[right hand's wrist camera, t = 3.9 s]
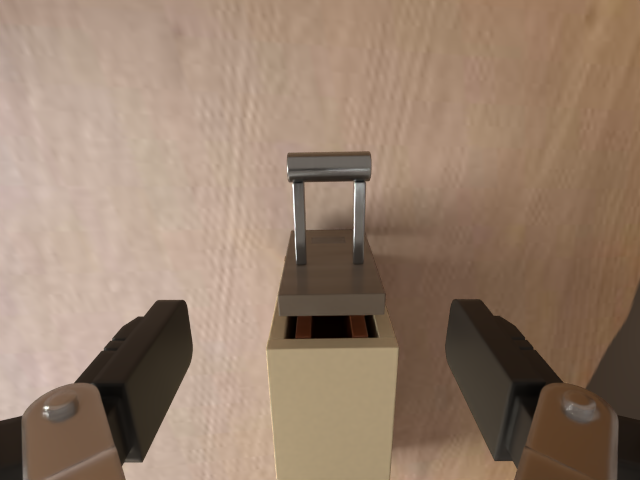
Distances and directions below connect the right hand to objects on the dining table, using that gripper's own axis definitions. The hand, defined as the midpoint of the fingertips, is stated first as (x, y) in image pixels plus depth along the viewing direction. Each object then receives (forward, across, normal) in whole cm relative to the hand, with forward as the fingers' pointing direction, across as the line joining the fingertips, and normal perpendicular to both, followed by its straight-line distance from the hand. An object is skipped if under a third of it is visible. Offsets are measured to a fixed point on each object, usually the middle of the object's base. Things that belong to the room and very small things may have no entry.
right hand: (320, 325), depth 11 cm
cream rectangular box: (+16, +1, -15) cm, 22 cm away
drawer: (+15, +1, -9) cm, 18 cm away
